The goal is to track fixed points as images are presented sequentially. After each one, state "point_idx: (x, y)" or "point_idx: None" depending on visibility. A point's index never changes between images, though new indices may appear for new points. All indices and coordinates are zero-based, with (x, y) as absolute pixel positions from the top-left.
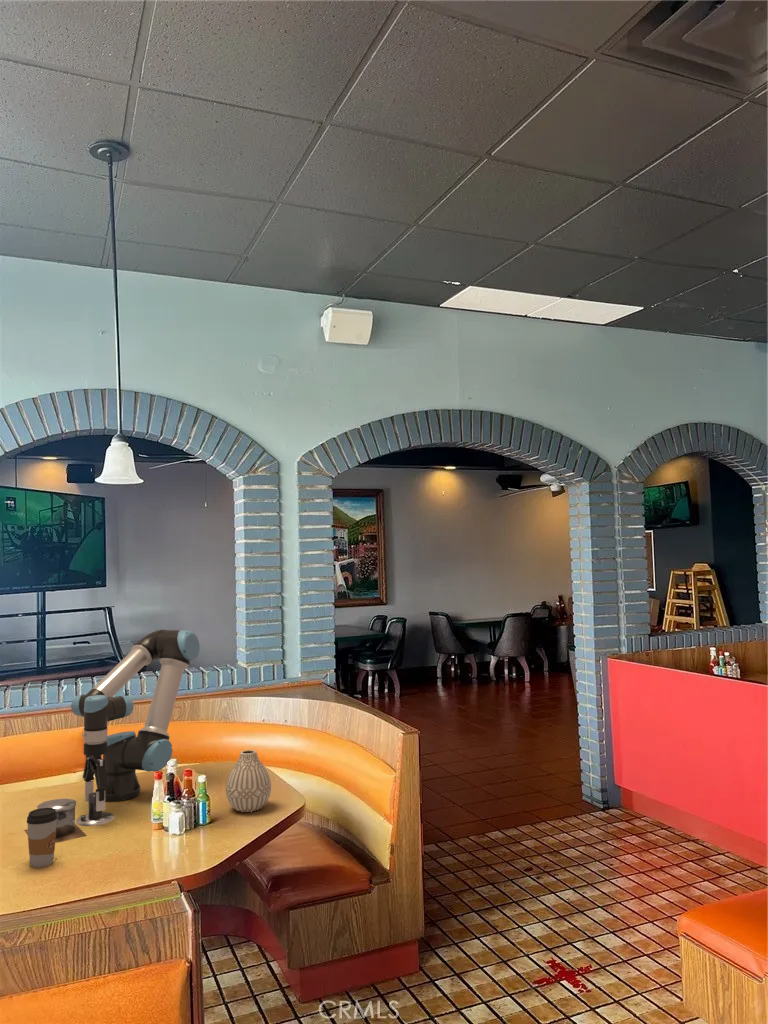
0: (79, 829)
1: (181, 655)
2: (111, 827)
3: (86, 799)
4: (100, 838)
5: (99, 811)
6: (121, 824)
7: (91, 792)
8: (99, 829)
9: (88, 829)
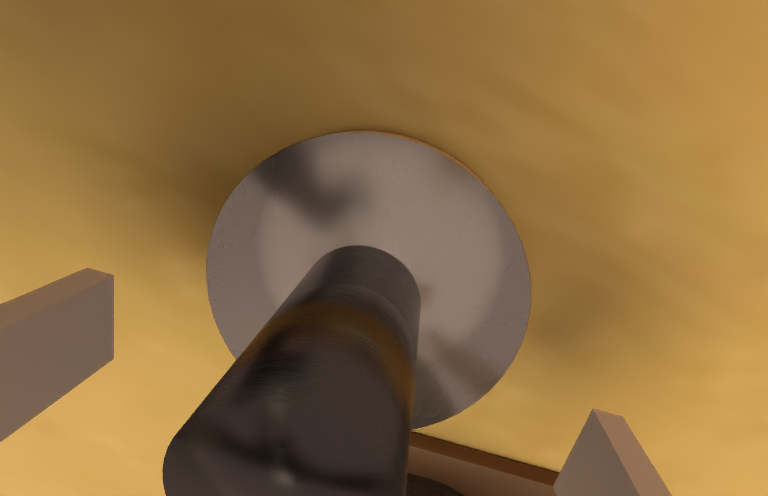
0: (472, 470)
1: None
2: (610, 280)
3: (91, 360)
4: (744, 458)
5: (417, 334)
6: (631, 181)
7: (6, 353)
8: (556, 358)
9: None
